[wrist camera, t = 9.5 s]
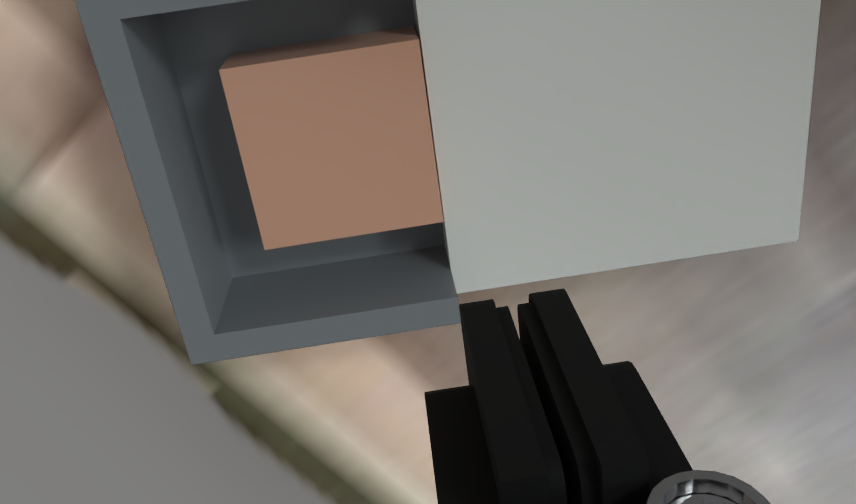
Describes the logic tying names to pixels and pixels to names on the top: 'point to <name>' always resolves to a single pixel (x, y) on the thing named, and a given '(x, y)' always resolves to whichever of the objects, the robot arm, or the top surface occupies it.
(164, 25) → the bin
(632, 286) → the top surface
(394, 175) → the tile
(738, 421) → the top surface
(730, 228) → the plate
